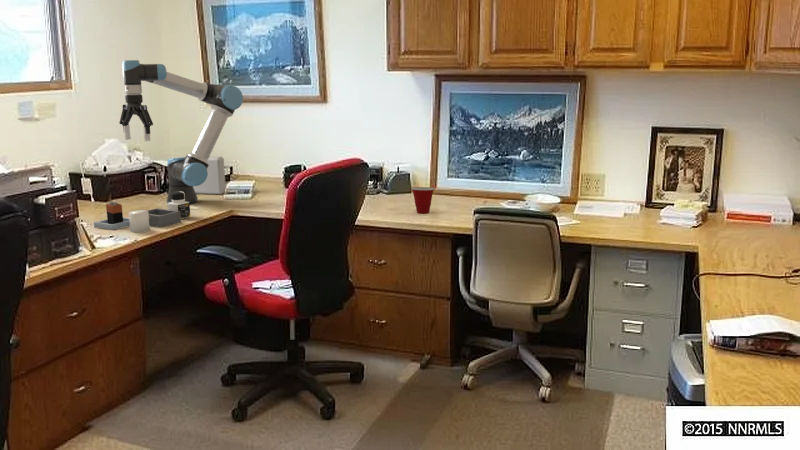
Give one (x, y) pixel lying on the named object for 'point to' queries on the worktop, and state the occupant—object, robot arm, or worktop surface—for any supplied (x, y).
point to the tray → (105, 224)
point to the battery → (114, 213)
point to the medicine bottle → (179, 204)
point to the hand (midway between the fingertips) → (137, 140)
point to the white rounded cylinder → (139, 221)
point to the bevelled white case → (213, 178)
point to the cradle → (163, 217)
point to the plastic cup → (422, 199)
